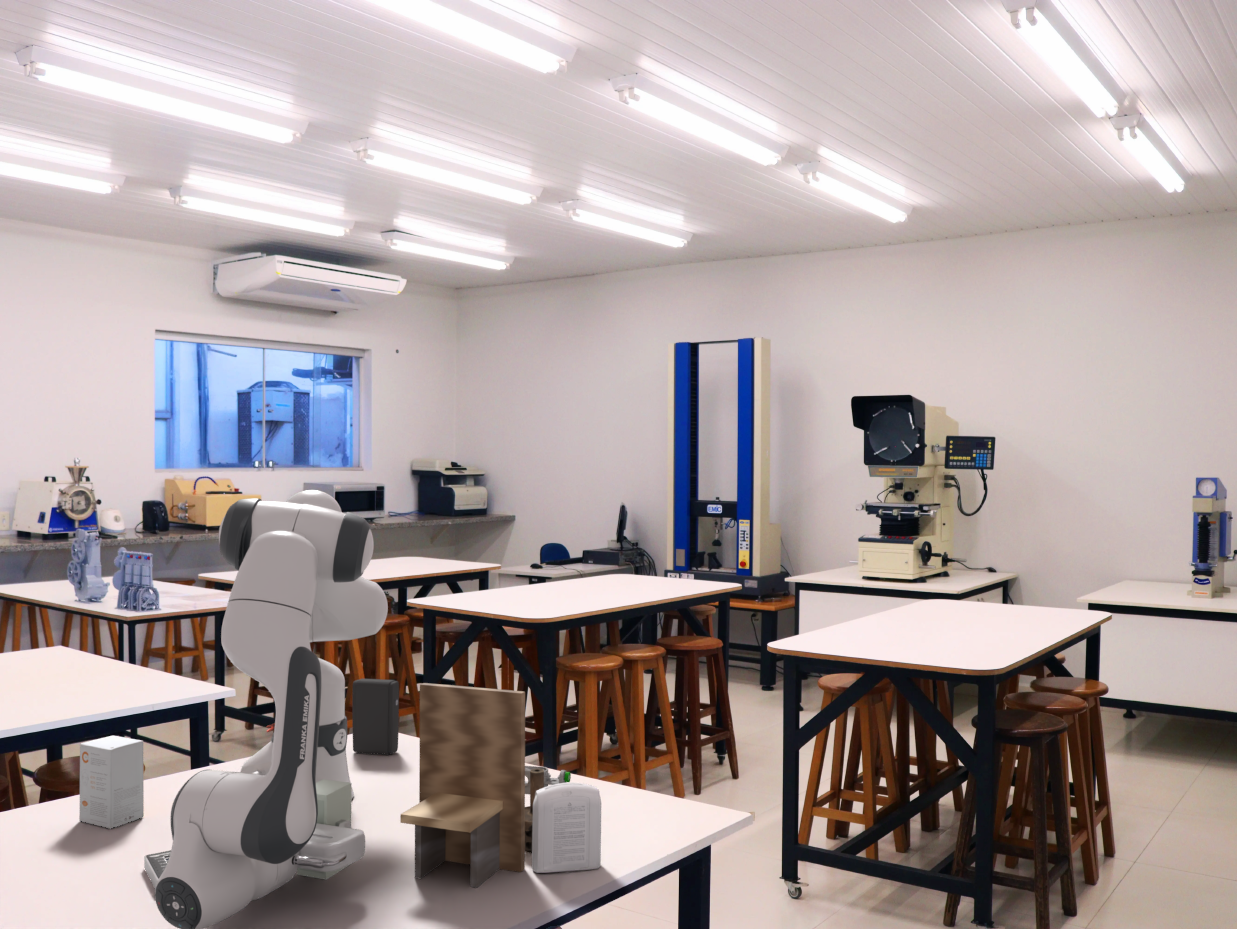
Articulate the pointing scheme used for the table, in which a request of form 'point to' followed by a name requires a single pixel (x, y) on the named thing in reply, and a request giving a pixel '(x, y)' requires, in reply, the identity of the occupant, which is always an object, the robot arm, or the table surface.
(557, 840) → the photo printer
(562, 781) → the mechanical component
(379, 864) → the table surface
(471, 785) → the wooden toy chair
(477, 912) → the table surface
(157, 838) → the table surface
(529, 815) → the industrial component
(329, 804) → the sage cabinet
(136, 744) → the small box
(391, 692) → the dark grey upright block
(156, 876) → the multiport hub
